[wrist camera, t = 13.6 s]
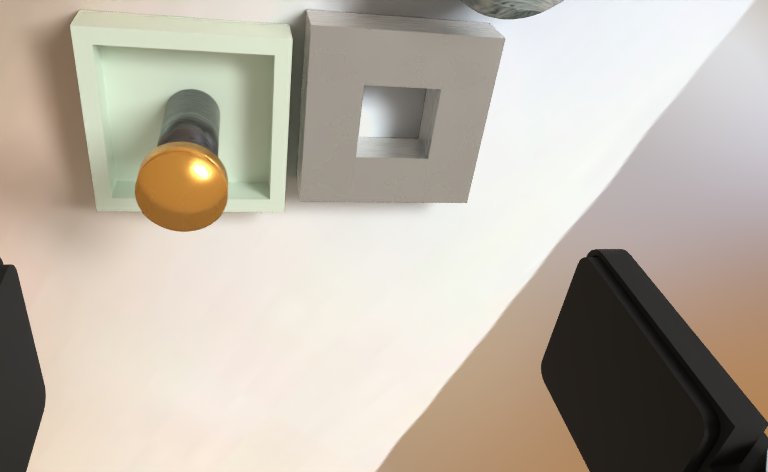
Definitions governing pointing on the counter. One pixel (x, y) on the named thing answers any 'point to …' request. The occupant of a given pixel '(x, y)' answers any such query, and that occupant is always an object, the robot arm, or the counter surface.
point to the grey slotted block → (393, 69)
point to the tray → (175, 73)
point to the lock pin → (185, 166)
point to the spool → (511, 7)
